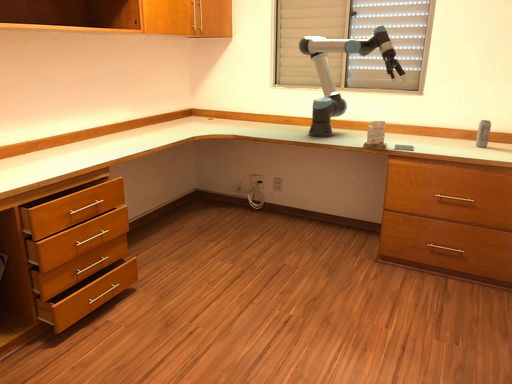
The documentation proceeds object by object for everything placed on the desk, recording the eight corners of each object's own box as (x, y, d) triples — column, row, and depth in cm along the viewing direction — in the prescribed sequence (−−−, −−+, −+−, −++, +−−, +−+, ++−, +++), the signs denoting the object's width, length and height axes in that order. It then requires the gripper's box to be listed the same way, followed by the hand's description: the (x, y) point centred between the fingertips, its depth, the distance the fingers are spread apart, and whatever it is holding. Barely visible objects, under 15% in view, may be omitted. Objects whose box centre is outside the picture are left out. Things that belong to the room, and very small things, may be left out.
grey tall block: (485, 145, 248) (490, 120, 243) (488, 148, 242) (492, 121, 238) (474, 145, 249) (478, 119, 245) (476, 147, 244) (481, 121, 239)
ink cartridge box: (379, 144, 250) (382, 119, 245) (383, 146, 245) (386, 121, 240) (366, 145, 248) (368, 120, 243) (369, 147, 243) (372, 121, 239)
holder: (362, 147, 242) (363, 143, 241) (365, 143, 254) (365, 139, 253) (385, 149, 238) (385, 144, 237) (386, 144, 250) (386, 140, 249)
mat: (394, 149, 238) (394, 148, 238) (395, 145, 249) (395, 144, 249) (413, 150, 235) (413, 150, 235) (413, 146, 246) (413, 145, 246)
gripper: (383, 44, 233) (398, 79, 230) (402, 50, 252) (415, 83, 249) (372, 52, 238) (386, 86, 235) (390, 57, 257) (404, 89, 254)
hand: (401, 84), depth 242 cm, fingers open, 13 cm apart
